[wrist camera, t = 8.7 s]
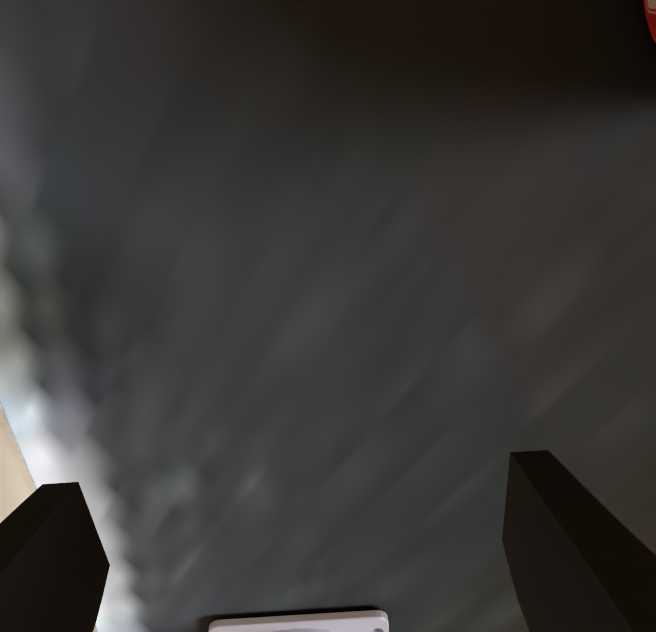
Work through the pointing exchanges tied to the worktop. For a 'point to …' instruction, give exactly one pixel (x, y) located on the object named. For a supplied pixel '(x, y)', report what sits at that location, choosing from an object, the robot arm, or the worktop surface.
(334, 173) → the worktop surface
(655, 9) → the soda can
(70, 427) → the worktop surface
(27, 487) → the bore box
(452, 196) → the worktop surface
